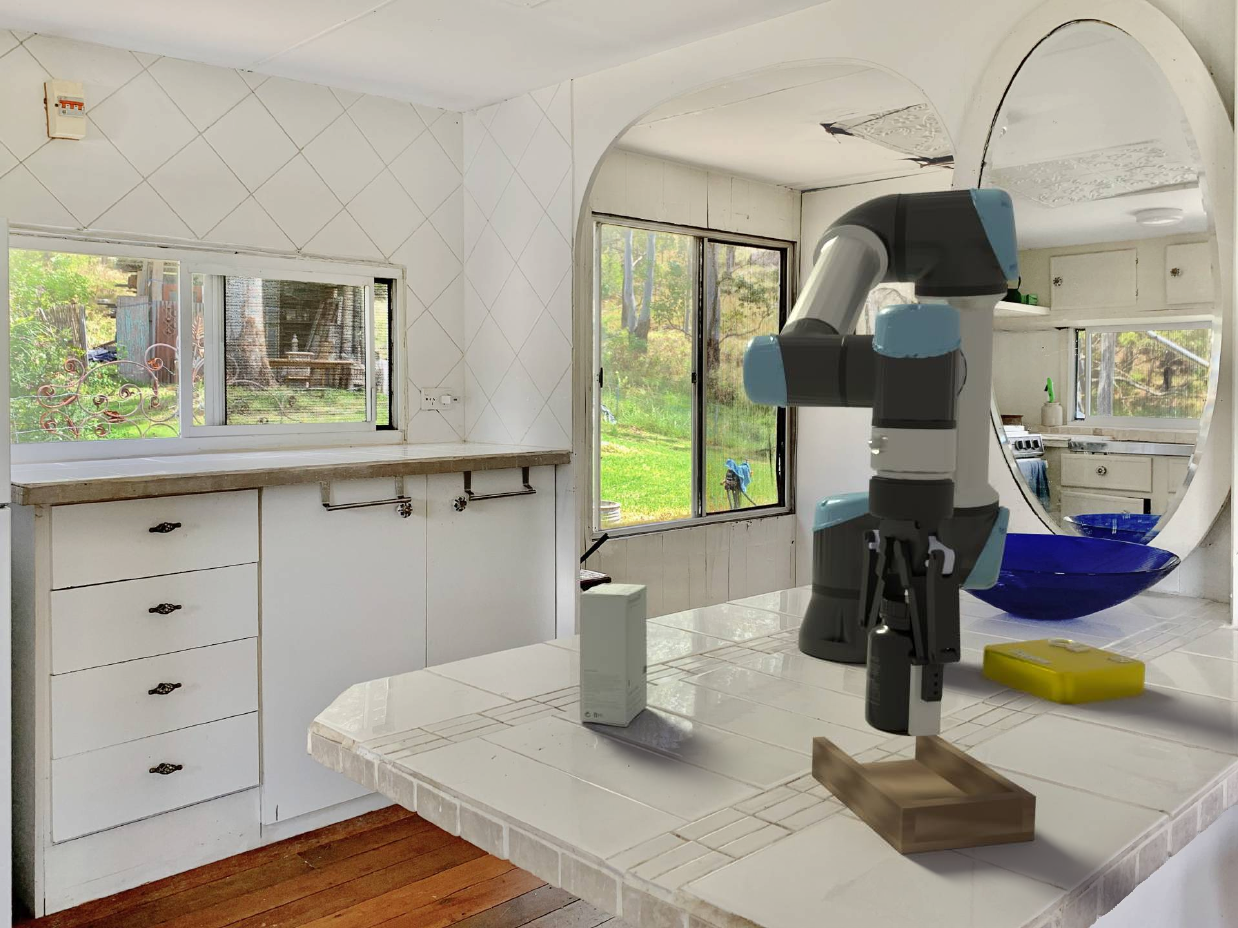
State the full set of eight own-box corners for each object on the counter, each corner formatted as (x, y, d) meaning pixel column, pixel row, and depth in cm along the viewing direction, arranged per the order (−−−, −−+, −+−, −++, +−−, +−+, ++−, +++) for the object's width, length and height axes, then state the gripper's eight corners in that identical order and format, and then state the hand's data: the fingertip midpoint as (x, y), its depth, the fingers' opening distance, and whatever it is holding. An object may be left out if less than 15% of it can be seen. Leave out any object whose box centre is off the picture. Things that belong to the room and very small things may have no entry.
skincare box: (627, 728, 111) (629, 596, 110) (576, 722, 113) (577, 592, 112) (648, 706, 119) (650, 582, 118) (599, 701, 121) (601, 579, 120)
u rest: (811, 775, 98) (812, 737, 98) (925, 765, 101) (926, 729, 101) (901, 853, 82) (902, 808, 81) (1034, 839, 85) (1036, 796, 84)
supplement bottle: (935, 743, 89) (940, 609, 88) (857, 731, 92) (862, 601, 91) (945, 720, 95) (950, 595, 94) (872, 710, 98) (876, 588, 97)
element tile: (975, 676, 136) (976, 641, 135) (1057, 666, 142) (1059, 633, 141) (1063, 709, 122) (1065, 670, 122) (1151, 696, 128) (1153, 659, 127)
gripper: (826, 466, 101) (820, 691, 102) (933, 485, 81) (922, 761, 83) (894, 466, 102) (887, 687, 104) (1014, 484, 83) (1002, 755, 85)
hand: (902, 720), depth 93 cm, fingers closed on supplement bottle, 7 cm apart
